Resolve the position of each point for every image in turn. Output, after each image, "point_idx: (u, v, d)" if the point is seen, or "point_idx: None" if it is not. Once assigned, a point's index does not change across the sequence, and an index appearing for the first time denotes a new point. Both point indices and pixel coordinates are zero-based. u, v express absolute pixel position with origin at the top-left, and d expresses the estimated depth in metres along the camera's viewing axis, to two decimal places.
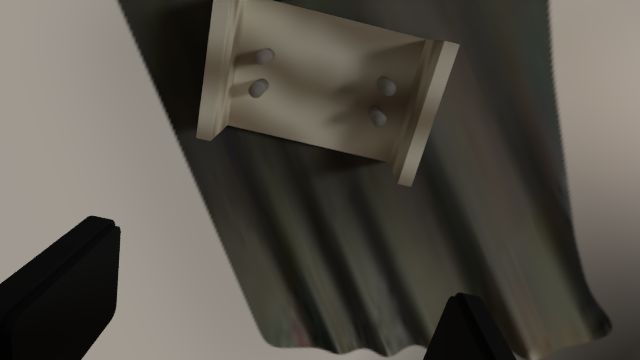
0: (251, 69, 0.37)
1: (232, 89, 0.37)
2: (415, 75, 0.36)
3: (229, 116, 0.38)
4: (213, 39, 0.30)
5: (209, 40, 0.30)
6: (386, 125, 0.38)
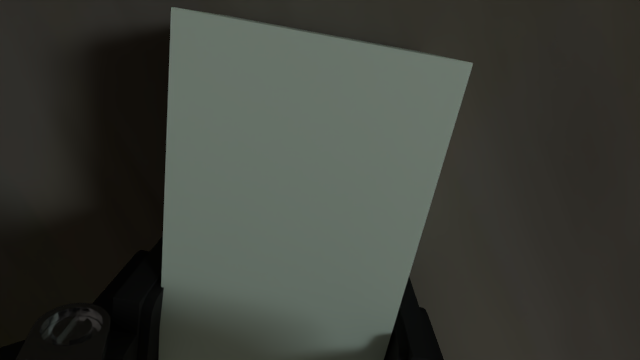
0: None
1: None
2: None
3: None
4: None
5: None
6: None
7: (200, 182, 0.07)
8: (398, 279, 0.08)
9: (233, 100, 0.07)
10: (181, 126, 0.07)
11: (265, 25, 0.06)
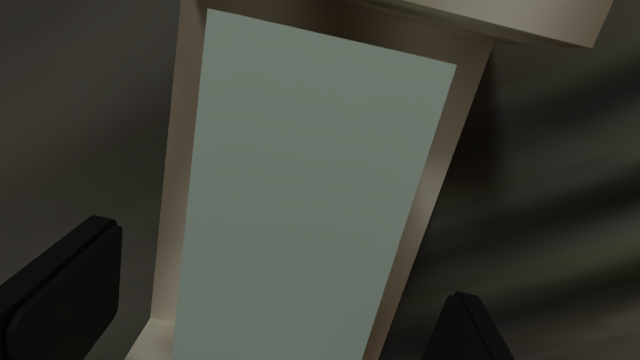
0: None
1: None
2: None
3: None
4: None
5: None
6: None
7: (223, 158, 0.09)
8: (389, 249, 0.09)
9: (255, 89, 0.08)
10: (209, 109, 0.08)
11: (285, 27, 0.08)
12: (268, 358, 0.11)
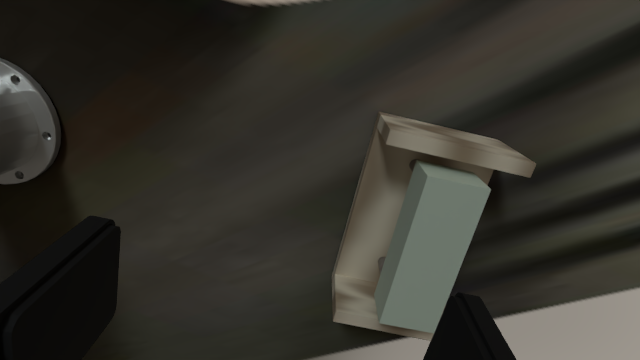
0: None
1: None
2: None
3: None
4: (374, 326, 0.37)
5: (375, 329, 0.37)
6: None
7: (424, 212, 0.31)
8: (469, 238, 0.31)
9: (436, 194, 0.30)
10: (423, 199, 0.30)
11: (446, 180, 0.30)
12: (427, 274, 0.33)
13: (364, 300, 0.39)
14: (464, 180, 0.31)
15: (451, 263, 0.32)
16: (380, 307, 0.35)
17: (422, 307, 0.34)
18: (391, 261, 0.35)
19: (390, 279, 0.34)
